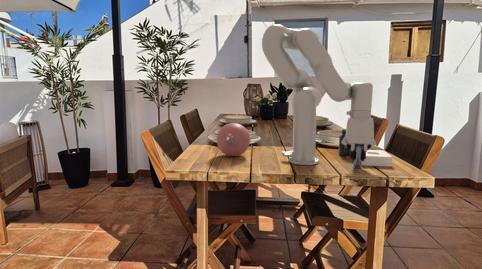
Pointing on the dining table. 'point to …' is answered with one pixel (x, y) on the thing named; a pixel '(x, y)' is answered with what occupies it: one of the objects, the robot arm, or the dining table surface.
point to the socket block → (377, 158)
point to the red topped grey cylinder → (358, 156)
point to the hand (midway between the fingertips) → (357, 159)
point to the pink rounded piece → (233, 139)
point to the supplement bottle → (342, 148)
